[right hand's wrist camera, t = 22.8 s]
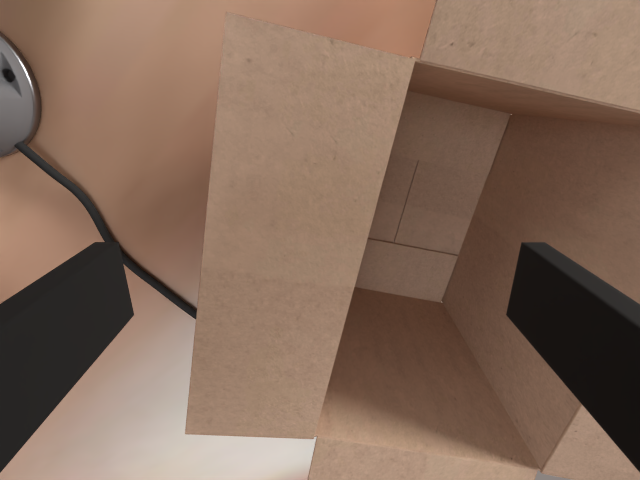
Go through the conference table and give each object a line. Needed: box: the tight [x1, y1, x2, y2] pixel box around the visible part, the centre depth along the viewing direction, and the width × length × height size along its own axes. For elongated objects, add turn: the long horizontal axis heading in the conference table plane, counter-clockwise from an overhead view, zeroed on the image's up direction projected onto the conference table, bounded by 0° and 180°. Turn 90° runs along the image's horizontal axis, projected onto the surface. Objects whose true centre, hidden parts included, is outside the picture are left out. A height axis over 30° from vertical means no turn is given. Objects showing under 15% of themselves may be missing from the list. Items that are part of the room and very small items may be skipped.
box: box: [185, 0, 640, 480], centre depth 34 cm, size 44×36×27 cm
